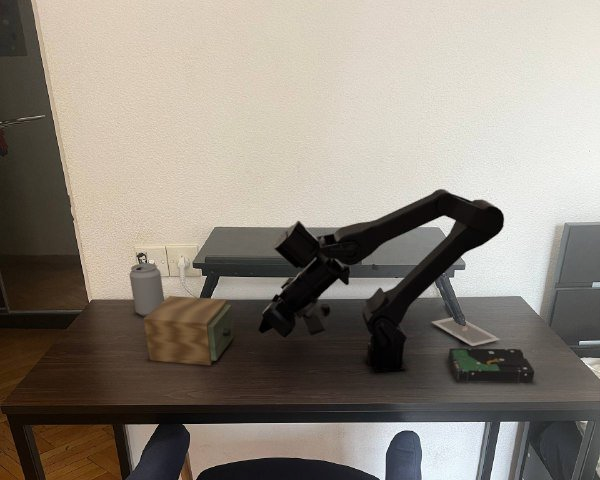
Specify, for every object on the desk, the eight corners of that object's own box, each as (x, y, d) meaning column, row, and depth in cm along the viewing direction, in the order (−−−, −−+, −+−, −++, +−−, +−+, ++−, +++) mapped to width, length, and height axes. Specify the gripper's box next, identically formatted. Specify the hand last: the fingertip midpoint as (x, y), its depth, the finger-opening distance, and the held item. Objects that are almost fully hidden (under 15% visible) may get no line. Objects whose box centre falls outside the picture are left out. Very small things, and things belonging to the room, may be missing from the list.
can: (142, 306, 152) (135, 261, 146) (169, 307, 151) (163, 262, 145) (131, 316, 145) (123, 270, 139) (159, 318, 144) (153, 271, 138)
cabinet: (230, 339, 133) (226, 299, 128) (210, 365, 122) (206, 323, 117) (174, 334, 136) (169, 295, 131) (150, 360, 124) (143, 318, 119)
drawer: (239, 337, 132) (236, 305, 128) (221, 361, 121) (218, 327, 117) (182, 333, 134) (178, 301, 130) (160, 356, 124) (155, 322, 120)
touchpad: (456, 320, 141) (457, 312, 140) (499, 343, 129) (501, 334, 128) (430, 326, 138) (431, 317, 137) (471, 350, 126) (473, 341, 125)
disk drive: (517, 360, 122) (447, 359, 123) (520, 348, 121) (448, 347, 121) (533, 384, 113) (456, 382, 114) (535, 371, 112) (458, 370, 112)
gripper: (334, 330, 105) (277, 379, 113) (348, 295, 121) (297, 339, 129) (290, 286, 103) (236, 339, 110) (310, 256, 118) (261, 304, 126)
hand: (260, 331), depth 119 cm, fingers closed
